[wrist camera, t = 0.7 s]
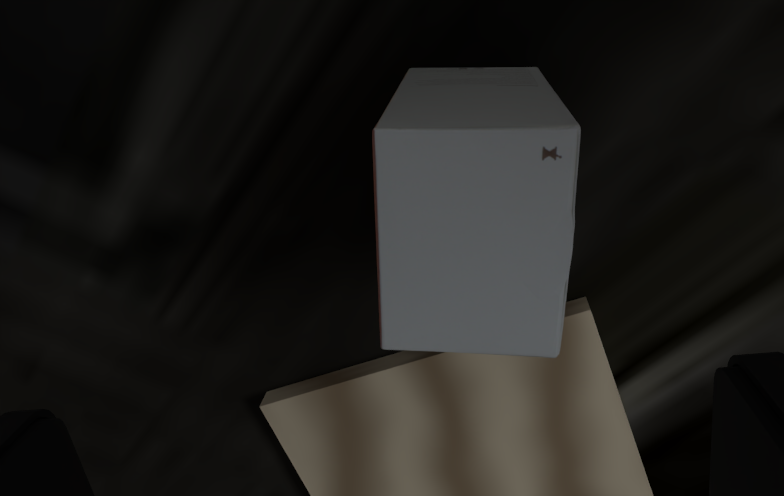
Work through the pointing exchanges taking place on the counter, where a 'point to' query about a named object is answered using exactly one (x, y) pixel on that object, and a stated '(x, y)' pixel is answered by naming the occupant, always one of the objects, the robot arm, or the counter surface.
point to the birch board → (464, 424)
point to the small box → (474, 212)
